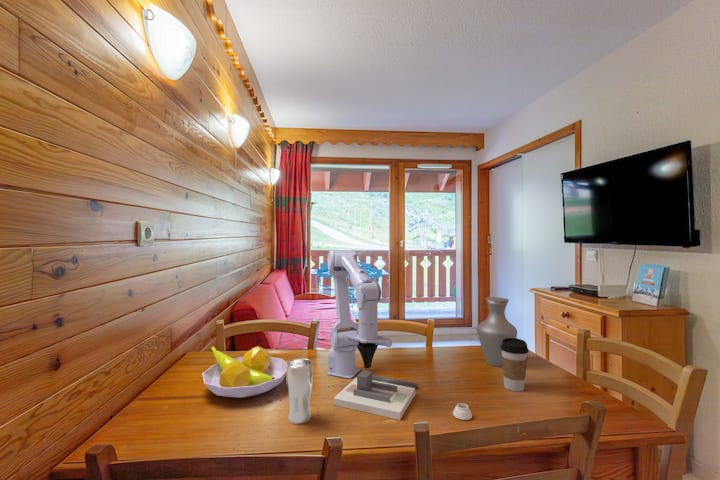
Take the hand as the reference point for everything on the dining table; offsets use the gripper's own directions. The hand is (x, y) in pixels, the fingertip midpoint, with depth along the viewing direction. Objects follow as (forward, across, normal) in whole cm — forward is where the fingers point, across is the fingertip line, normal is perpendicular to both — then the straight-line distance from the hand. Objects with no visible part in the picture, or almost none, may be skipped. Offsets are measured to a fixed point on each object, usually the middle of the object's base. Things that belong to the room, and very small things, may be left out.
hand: (367, 367), depth 104 cm
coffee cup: (+10, +41, +26) cm, 49 cm away
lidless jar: (+10, +28, +1) cm, 29 cm away
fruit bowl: (+10, -39, -9) cm, 42 cm away
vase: (+10, +35, +46) cm, 58 cm away
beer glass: (+10, -12, -18) cm, 24 cm away
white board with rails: (+9, +3, +3) cm, 10 cm away
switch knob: (+7, -1, 0) cm, 7 cm away
